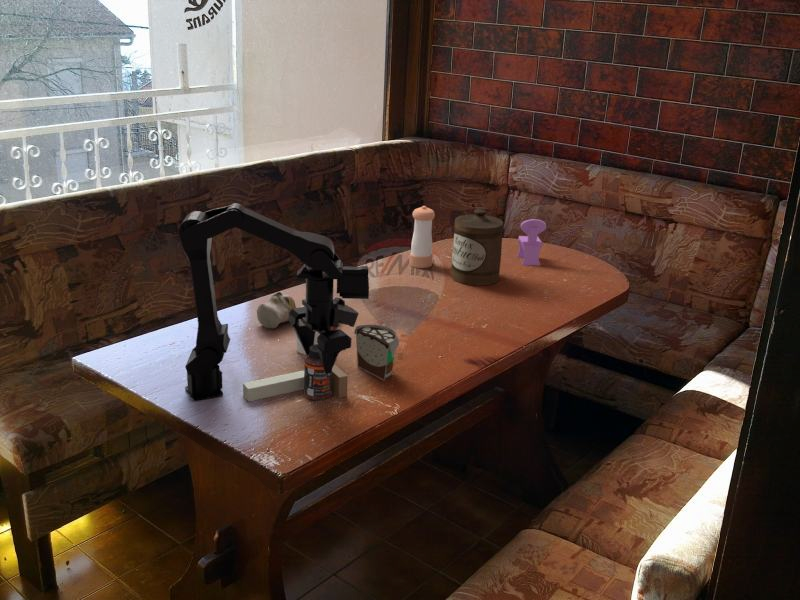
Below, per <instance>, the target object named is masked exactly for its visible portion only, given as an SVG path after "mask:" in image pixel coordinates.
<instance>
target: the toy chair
mask: <svg viewBox="0 0 800 600" xmlns="http://www.w3.org/2000/svg"><path fill="white" fill-rule="evenodd" d="M520 229H521V231H522V232H523V233H524V234H526V235H525V236H524V235H519V236H518V239H517V240H518V244H519V250H518V252H517V254H516V258H523V260H522V262H521V263H520V265H521V266H536V267H537V266H541V263H540V259H539V255H540V251H541V250H542V247H543V241H542V240H541V239H540V237H539V236H538V235H539V234H541V233H542V232H544V231H545V230H546V229H547V223H546V222H545V221H544V220H541V219H537V218H536V219H535V218H534V219H533V218H531V219H527V220H524V221H522V222H521V223H520Z"/></svg>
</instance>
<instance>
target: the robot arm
mask: <svg viewBox="0 0 800 600" xmlns="http://www.w3.org/2000/svg"><path fill="white" fill-rule="evenodd" d="M234 228H236V229H239V230H240V231H243V232H245V233H247V234H250V235H252V236H254V237H257V238H259V239H261V240H263V241H265V242H266V243H270V244H272V245H274V246H277V247H279V248H281V249H282V250H286V251H288V253H290V254H292V255H293V256H294V257H295V258H296V259H297V260H298V261H299V262H301V263H303V265H302V266H301V268H299V269H298V270H297V273H296V278H297V279H305V299H304V298H303V299H301V305H302V306H299V307H296V308H294V309H292V310H291V311H290V312H289V321H288V322H289V323H290V324H291V328H292V329H293V330H294V333H295V332H296V334H297V336H298V338H299V340H300V342H301V345H302V347H303V349H304V351H305V353H306V355H305V356H307V355H308V354H309V349H310V346H312V345H314V338H315V332H316V331H317V332H318V333H319V334H320V335H319V336H318V337H317V343H318V346H319V347H317V349H318V352H319V355H320V358H321V361H322V365H323V368H324V370H325V373H326V374H329V373H331V371H332V368H333V366H334V364H335V363H336V361H337V358H338V356H339V354H340V353H341V352H342V351H346V350H347V349H351V348H352V341H353V340H352V337H351V336H350V335H348V334H347V333H346V332H344V331H343V330H342V329H341V328H339V329H334V330H333V329H332V330H331V329H330V328H331V327H334V328H337V327H339V325H340V324H341V325H345V326H349V327H351V328H354V327H355V324H356V322H357V320H358V316H359V315H360V314H359V312H358V311H357V310H355V309H354V308H353V307H351V306H349V305H347V304H346V301H345V300H344V299H348V300H349V299H350V300H351V299H353V300H357V299H358V300H359V299H360V300H369V298H370V297H369V296H370V283H369V282H370V280H369V279H370V278H369V266H367V265H361V266H343V264H344V263H343V262H344V261H342V260H341V258H340V257H339V256H338V255H337V253H336V252H335V246H334V243H333V241H332V239H330V238H329V237H327V236H326V235H323V234H319V233H314V232H309V231H300V230H297V229H294V228H291V227H289V226H287V225H285V224H282V223H280V222H278V221H276V220H274V219H272V218H269V217H268V216H264V215H263V214H260V213H258V212H256V211H254V210H252V209H249V208H247V207H245V206H244V205H242V204H241V203H237V202H236V203H235V202H234V203H232V204H230V205H227V206H222V207H217V208H212V209H210V210H207V211H204V212H203V211H200V210H199V211H198V210H194V211H191V212H190V213H188V214H187V215H186V216H185V218H183V221H182V222H181V224H180V225H179V227H178V230H177V231H178V232H177V233H178V234H177V235H178V239H179V241H180V244H181V247H182V251H183V252H184V254H185V256H186V257H187V260H188V262H189V266H190V274H191V281H192V289H193V295H194V303H195V310H196V317H197V331H196V332H197V333H196V341H195V347H194V348H192V349H191V352H190V355H189V357H188V359H187V361H186V364H185V369H186V380H187V381H186V382H187V385H186V386H184V389H185V391H186V392H187V394H189V396H190V398H191V399H192V401H195V402H197V401H202V400H206V399H210V398H215V397H221V396H223V395H224V392H223V390H222V389H223V372H222V371H221V369H220V365H219V364H220V363H222V361H223V359H224V356H225V354H226V353H227V351H228V349H229V346H230V341H231V337H230V336H229V331H228V330H229V324H228V323H221V321H220V318H219V315H218V308H217V303H216V302H217V300H216V293H215V285H214V277H213V269H212V262H211V251H212V250H211V248H212V241H213V238H214V237H217V236H218V235H221V234H223V233H225V232H227V231H229V230H232V229H234ZM334 280H336V294H339V297H337V296H336V297H334V283H335V282H334ZM303 306H305V307H303Z"/></svg>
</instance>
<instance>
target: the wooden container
mask: <svg viewBox="0 0 800 600" xmlns="http://www.w3.org/2000/svg"><path fill="white" fill-rule="evenodd" d="M454 219H455V220H454V233H453V242H452V243H453V245H452V256H451V269H450V270H451V271H450V277H451V278H452V279H453V280H454V281H456V282H458V283H461V284H464V285H469V286H490V285H493V284H495V283H497V282H498V281H499V279H500V270H501V260H502V245H503V244H502V243H503V233H504V232H503V231H504V221H503V220H502V219H500V218H498V217H496V216H493V215H486V210H485V209H484V208H483V207H477V208H476V209H474V211H473V214H465V215H464V214H463V215H459V216H457V217H456V218H454Z"/></svg>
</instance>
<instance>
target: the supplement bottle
mask: <svg viewBox="0 0 800 600" xmlns="http://www.w3.org/2000/svg"><path fill="white" fill-rule="evenodd" d="M317 347H319V346H318V344H315V345H312V346H310V349H309V354H308V355H305V357H304V389H303V394H304V396H305V397H306V398H307V399H309V400H313V401H314V400H315V401H323V400H325V399H327V398H329V397H331V394H332V391H331V383H332V371H331V373H329V374H326V373H325V370H324V368H323V365H322V361H321V358H320V355H319V352H318V349H317Z"/></svg>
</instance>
